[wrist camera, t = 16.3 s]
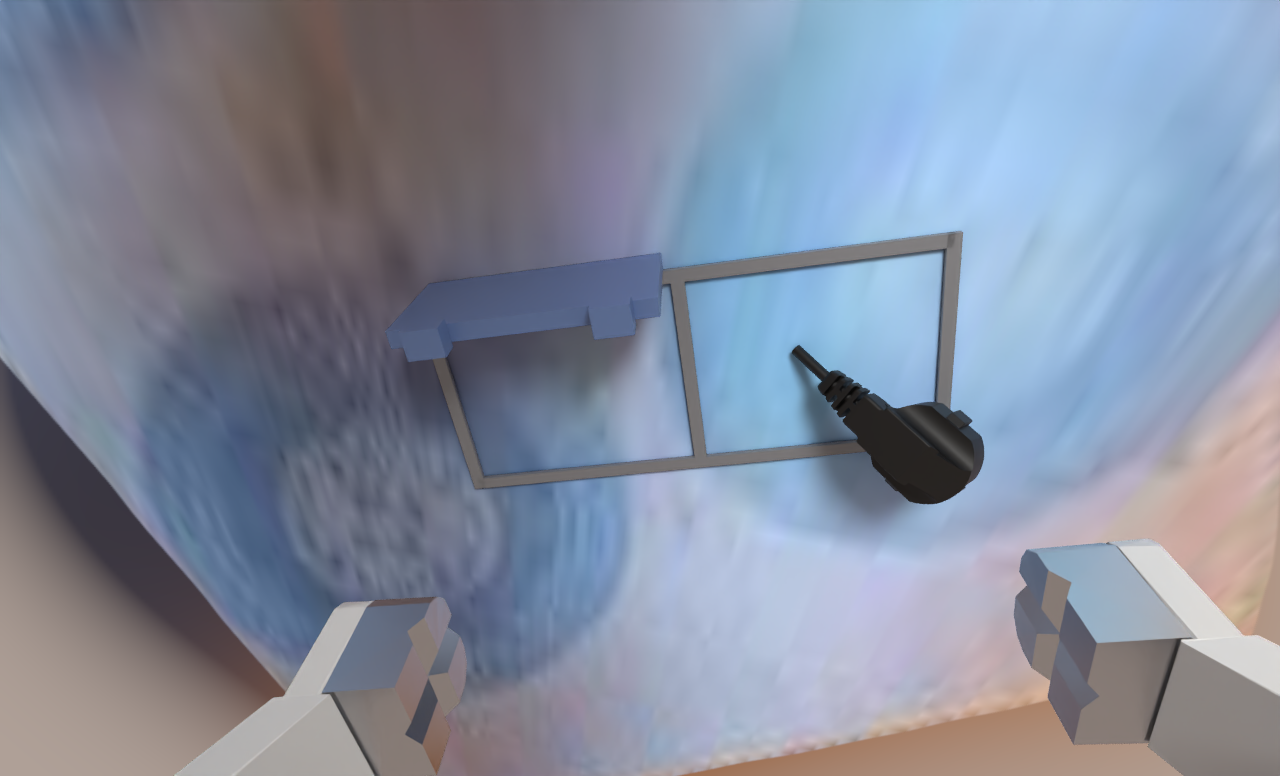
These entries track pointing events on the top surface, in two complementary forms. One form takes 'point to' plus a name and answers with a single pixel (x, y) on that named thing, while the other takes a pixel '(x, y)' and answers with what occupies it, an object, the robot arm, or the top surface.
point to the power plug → (905, 437)
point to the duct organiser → (628, 332)
